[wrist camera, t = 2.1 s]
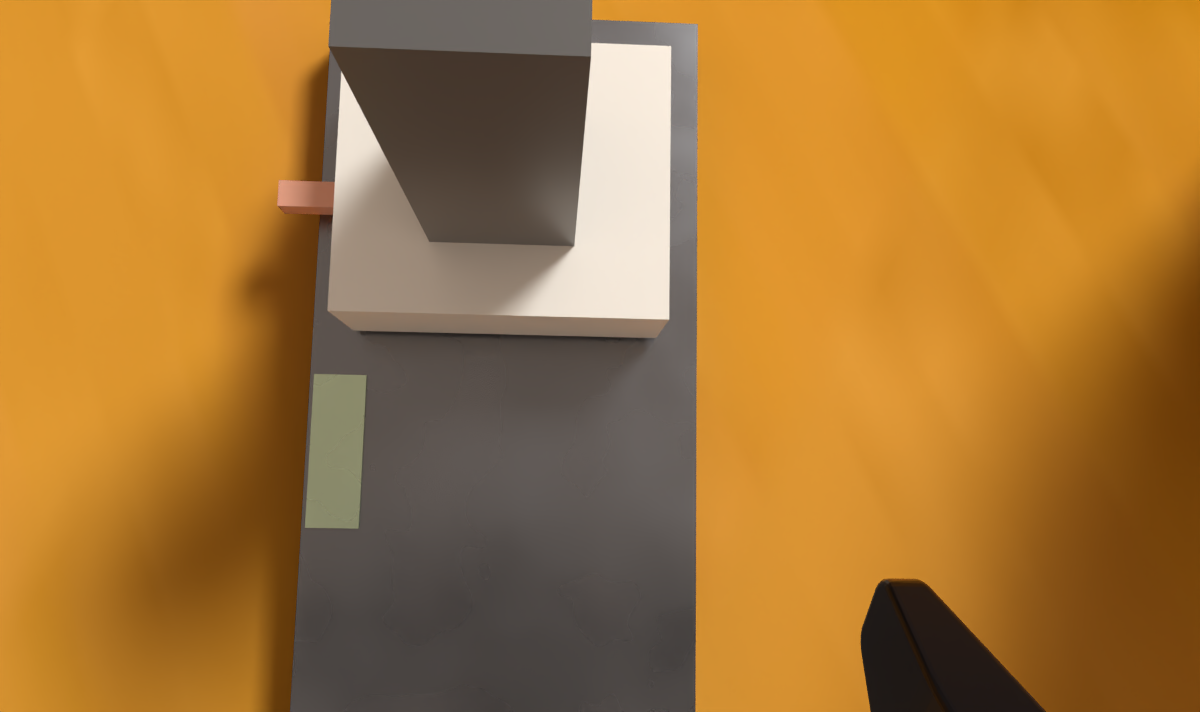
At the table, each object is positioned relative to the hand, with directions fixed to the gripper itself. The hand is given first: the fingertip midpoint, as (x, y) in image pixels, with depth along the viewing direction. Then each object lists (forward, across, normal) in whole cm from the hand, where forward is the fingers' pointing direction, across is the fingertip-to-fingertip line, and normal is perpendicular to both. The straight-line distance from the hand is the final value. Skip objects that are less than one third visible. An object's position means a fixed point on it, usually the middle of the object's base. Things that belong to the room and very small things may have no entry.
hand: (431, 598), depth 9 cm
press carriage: (+14, +1, +3) cm, 14 cm away
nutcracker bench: (+11, 0, +9) cm, 14 cm away
